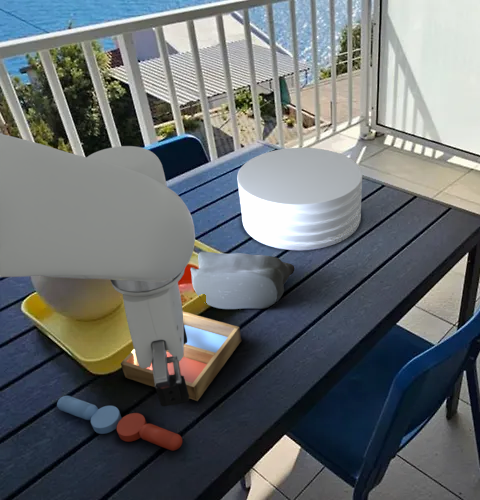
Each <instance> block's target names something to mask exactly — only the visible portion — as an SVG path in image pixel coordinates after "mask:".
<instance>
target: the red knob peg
mask: <svg viewBox="0 0 480 500" xmlns="http://www.w3.org/2000/svg"><path fill="white" fill-rule="evenodd" d="M116 432H117V434H118V437H119V438H120V440H122V441H123V442H126V443H127V442H129V443H130V442H135V441H137V440H139V439H142V440H143V441H146V442H148V443H151V444H154V445H155V446H158V447H161V448H164V449H166V450H169V451H173V452H174V451H177V450H179V449H180V448H181V447H182V445H183V437H182V436H181V435H180V434H178V433H176V432H173V431H171V430H169V429H166V428H163V427H160V426H158V425H155V424H154V423H148V422H147V420H146V418H145V416H144V415H143V414H142V413H139V412H133V413H129V414H126V415H124V416H122V417H121V420H120V421H119V422H118V424H117V428H116Z"/></svg>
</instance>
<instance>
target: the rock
mask: <svg viewBox="0 0 480 500" xmlns="http://www.w3.org/2000/svg"><path fill="white" fill-rule="evenodd" d="M197 263H198V268H195V267H190V274H191V284H192V288H193V290H194V292H195V294H196V295H197V296H198V297H199V295H201V294H205V295H206V303H207V304H206V303H205V304H206V305H208V306H210V307H213V308H216V309H222V310H238V309H239V310H241V309H267V308H269V307H271V306H272V305H274V304H276V303H277V302H278V301H279V300H280V299H281V298H282V296H283V295H284V292H285V288H284V285H285V284H286V283H287V281H288V279H290V278H289V277H290V276H293V274H294V273H295V270H296V267H295V265H294V264H293V263H289V262H285V261H282V259H280V258H279V257H276V256H271V255H264V254H248V253H243V252H233V253H224V252H223V253H222V252H219V253H218V252H211V251H200V252H198V254H197Z"/></svg>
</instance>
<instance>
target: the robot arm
mask: <svg viewBox="0 0 480 500" xmlns="http://www.w3.org/2000/svg"><path fill="white" fill-rule="evenodd" d="M167 184H168V183H167V180H166V175H165V172H164V167H163V164H162V162H161V160H160V159H159V157H158V156H157V155H156V154H155V153H154V152H153V151H151V150H149V149H146V148H144V147H141V146H133V145H120V146H113V147H107V148H104V149H101V150H98V151H95V152H93V153H91V154H89V155H88V156H84V155H83V156H82V155H79V154H76V153H71V152H68V151H66V150H65V151H64V150H62V149H58V148H54V147H52V146H49V145H45V144H42V143H38V142H34V141H31V140H27V139H24V138H20V137H16V136H11V135H7V134H4V133H0V278H22V277H45V278H55V279H56V278H60V279H79V280H80V279H82V280H110V283H111V286H112V288H113V289H114V290H115V291H116V292H118V293H119V294H121V295H122V300H123V307H124V313H125V318H126V322H127V326H128V330H129V334H130V338H131V342H132V346H133V350H135V354H136V357H137V361H138V364H139V366H140V367H141V368H149V367H150V366H151V362H152V369H153V376H154V385H155V387H154V388H155V392H156V394H157V397H158V400H159V404H160V406H161V407H168V406H169V407H170V406H175V405H179V404H183V403H184V404H185V403H187V402H189V401H190V398H189V394H188V390H187V386H186V382H185V378H184V376H181V373H180V366H179V361H180V360H181V359H182V358H183V355H184V344H186V343H187V335H186V331H185V327H184V323H183V312H184V310H183V302H182V301H183V300H182V296H181V292H180V286H179V281H181V279H182V278H183V276H184V274H185V271H186V267H187V266H188V264H189V263H190V261H191V258H192V256H193V254H194V253H193V252H194V249H195V245H196V243H195V242H196V231H195V230H196V229H195V225H194V224H195V223H194V219H193V217H192V214H191V211H190V210H189V208H188V206H187V204H186V203H185V202H184V200H183V199H182V197H180V195H179V194H177V193H176V191H174V190H173V189H171V188H169V187H168V185H167ZM166 351H168V352H169V353H170V354H171V355H172V356H171V357H167V352H166ZM172 362H173V367H174V374H172V375H169V372H168V364H167V363H172Z"/></svg>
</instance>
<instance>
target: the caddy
mask: <svg viewBox="0 0 480 500" xmlns="http://www.w3.org/2000/svg"><path fill="white" fill-rule="evenodd" d="M183 323H184V327H185V331H186V335H187V343H186V344H184V355H183V358H182V359H181V360H180V361H179V366H180V373H181V376H184V378H185V382H186V386H187V390H188V394H189V400H193V401H196V402H198V401H199V400H200V398H201V397H202V396H203V394H204V393H205V392H206V390H207V389H208V387H209V386H210V385H211V383H212V382H213V381H214V379H215V378H216V377H217V375H218V373H219V372H220V371H221V370H222V368H223V367H224V366H225V364H226V363H227V361H228V360H229V358H230V357H231V356H232V355H233V353H234V351H236V349H237V348H238V346H239V345H240V343H241V342H242V335H241V329H240V326H238V325H233V324H229V323H227V322H223V321H220V320H219V321H218V320H215V319H213V318H208V317H205V316H201V315H197V314H194V313H191V312H187V311H183ZM166 352H167V357H171V356H172V355H171V354H170V353H169V352H168V351H166ZM167 364H168V372H169V375H172V374H174V367H173V362H172V363H167ZM120 367H121V369H122V371H123V374H124V377H125V378H127V379H128V380H132V381H134V382H138V383H141V384H144V385H146V386H149V387H150V386H151V387H153V388H155V385H154V376H153V369H152V362H151V366H150V367H149V368H141V367H140V366H139V364H138V361H137V357H136V354H135V350H134V349H132V351H130V353H129V354H128V355H127V356H126V357H125V358H124V359H123V360H122V361H121V362H120Z"/></svg>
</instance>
